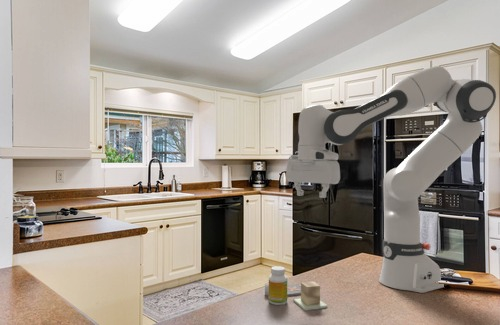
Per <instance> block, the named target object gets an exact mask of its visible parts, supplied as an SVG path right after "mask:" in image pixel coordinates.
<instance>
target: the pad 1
mask: <svg viewBox="0 0 500 325" xmlns="http://www.w3.org/2000/svg"><path fill="white" fill-rule="evenodd" d="M293 296H301V284H291V285H289V284H287V297H293Z"/></svg>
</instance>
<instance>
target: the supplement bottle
mask: <svg viewBox="0 0 500 325" xmlns="http://www.w3.org/2000/svg"><path fill="white" fill-rule="evenodd" d="M270 273H271V274H269V276H268V282H269V297H268V302H269V303H270V304H272V305H275V306H281V305H286V304H287V302H288V296H287V286H288V276H287V275H286V269H285V267H284V266H279V265H277V266H276V265H275V266H272V267H271V268H270Z"/></svg>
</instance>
